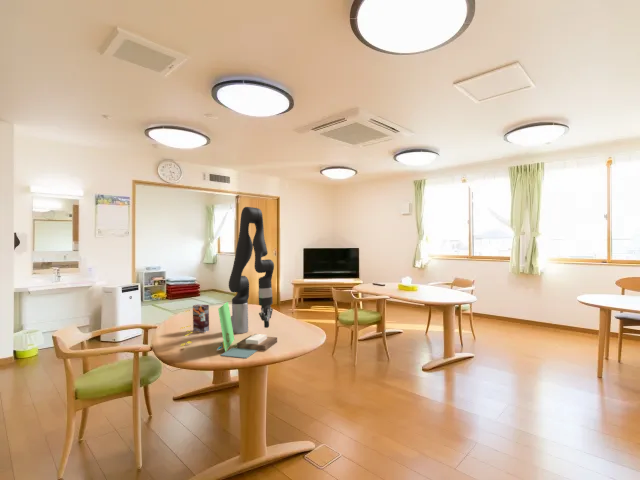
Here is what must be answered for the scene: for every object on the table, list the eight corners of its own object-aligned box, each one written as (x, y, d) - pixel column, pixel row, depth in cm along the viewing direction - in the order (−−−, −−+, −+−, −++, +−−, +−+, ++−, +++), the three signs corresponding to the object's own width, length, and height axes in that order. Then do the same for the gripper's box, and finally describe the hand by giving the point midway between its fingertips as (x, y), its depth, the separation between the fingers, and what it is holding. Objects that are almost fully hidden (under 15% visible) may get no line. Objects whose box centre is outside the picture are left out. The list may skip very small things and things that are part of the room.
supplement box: (192, 331, 200) (192, 305, 200) (198, 329, 205) (197, 303, 204) (204, 333, 197) (203, 306, 197) (209, 330, 201) (209, 304, 201)
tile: (245, 343, 168) (245, 339, 168) (255, 337, 178) (255, 333, 178) (258, 344, 166) (258, 340, 166) (267, 338, 176) (266, 334, 176)
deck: (237, 348, 169) (236, 343, 169) (250, 339, 182) (250, 335, 182) (265, 350, 164) (265, 345, 164) (277, 342, 177) (277, 337, 177)
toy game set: (189, 347, 182) (182, 304, 182) (235, 339, 183) (228, 296, 183) (174, 361, 160) (166, 313, 160) (226, 352, 162) (218, 303, 162)
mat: (220, 355, 158) (220, 355, 158) (232, 348, 169) (232, 347, 169) (246, 358, 154) (246, 357, 154) (257, 350, 164) (257, 349, 164)
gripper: (264, 293, 189) (265, 324, 189) (253, 298, 177) (254, 330, 177) (276, 294, 187) (277, 324, 187) (266, 298, 174) (267, 331, 174)
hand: (266, 327), depth 182 cm, fingers closed
